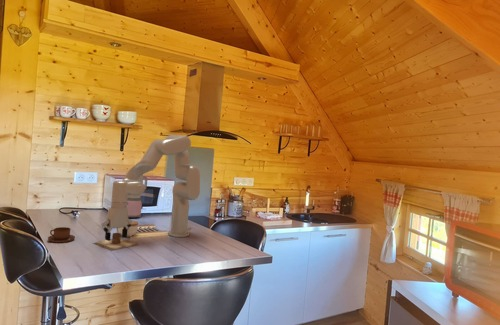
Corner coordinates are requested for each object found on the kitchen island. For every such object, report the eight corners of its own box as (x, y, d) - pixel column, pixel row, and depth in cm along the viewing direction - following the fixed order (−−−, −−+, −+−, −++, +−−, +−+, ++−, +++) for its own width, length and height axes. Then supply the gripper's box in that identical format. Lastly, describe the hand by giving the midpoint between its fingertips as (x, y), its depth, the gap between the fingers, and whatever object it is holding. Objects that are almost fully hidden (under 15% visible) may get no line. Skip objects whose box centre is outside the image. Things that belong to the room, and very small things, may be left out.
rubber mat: (119, 239, 186) (119, 238, 186) (139, 245, 177) (139, 244, 177) (92, 244, 172) (92, 243, 172) (111, 251, 164) (111, 250, 164)
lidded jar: (130, 239, 187) (132, 222, 187) (113, 236, 189) (114, 219, 189) (140, 235, 197) (142, 218, 197) (123, 232, 199) (125, 216, 199)
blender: (126, 219, 233) (130, 172, 232) (119, 216, 241) (122, 170, 240) (148, 218, 243) (151, 173, 242) (140, 214, 252) (144, 171, 251)
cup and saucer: (44, 244, 166) (45, 231, 166) (51, 237, 178) (52, 225, 177) (71, 244, 169) (72, 232, 169) (77, 238, 181) (77, 226, 181)
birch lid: (119, 238, 184) (120, 229, 184) (136, 244, 177) (137, 234, 176) (95, 243, 173) (96, 233, 172) (112, 249, 165) (113, 239, 165)
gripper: (128, 202, 183) (125, 234, 184) (99, 205, 169) (96, 239, 169) (137, 205, 179) (135, 237, 180) (108, 207, 165) (105, 243, 165)
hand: (116, 238), depth 174 cm, fingers open, 9 cm apart
